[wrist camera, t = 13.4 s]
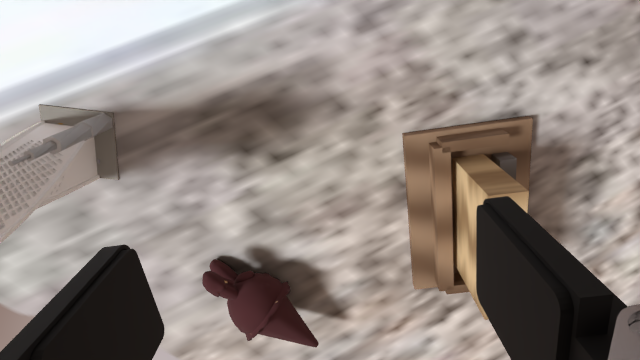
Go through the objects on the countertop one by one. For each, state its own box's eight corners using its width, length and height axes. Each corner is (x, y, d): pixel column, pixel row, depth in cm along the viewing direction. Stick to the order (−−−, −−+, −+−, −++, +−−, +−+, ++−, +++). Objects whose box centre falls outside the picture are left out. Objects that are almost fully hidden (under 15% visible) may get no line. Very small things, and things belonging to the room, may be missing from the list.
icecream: (342, 336, 40) (223, 250, 38) (297, 391, 40) (176, 308, 38) (334, 306, 47) (233, 231, 44) (296, 353, 47) (193, 281, 45)
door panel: (452, 157, 38) (488, 195, 30) (494, 152, 38) (542, 189, 30) (453, 261, 43) (484, 319, 34) (490, 257, 42) (531, 315, 34)
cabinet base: (402, 133, 38) (408, 142, 35) (527, 115, 38) (543, 123, 35) (413, 283, 45) (418, 301, 42) (519, 271, 44) (532, 288, 41)
